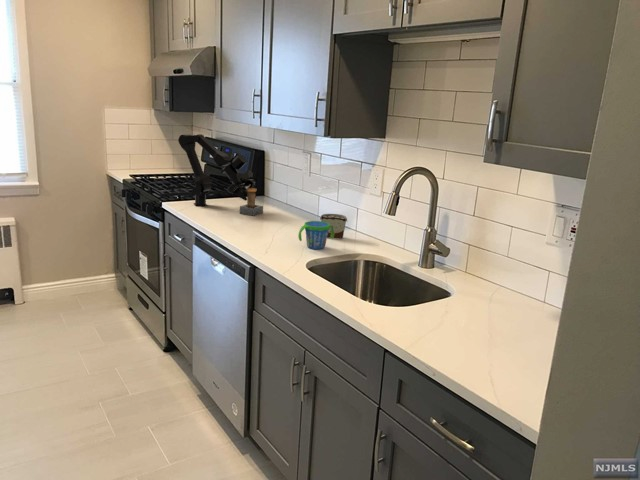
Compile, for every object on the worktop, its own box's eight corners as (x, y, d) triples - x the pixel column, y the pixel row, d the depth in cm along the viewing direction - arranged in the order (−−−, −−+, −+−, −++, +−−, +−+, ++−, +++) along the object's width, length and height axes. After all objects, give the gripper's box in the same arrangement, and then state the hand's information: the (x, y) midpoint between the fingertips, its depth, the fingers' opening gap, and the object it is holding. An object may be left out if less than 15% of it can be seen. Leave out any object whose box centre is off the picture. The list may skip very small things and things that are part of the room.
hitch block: (239, 213, 262) (239, 206, 261) (248, 211, 270) (248, 203, 269) (254, 216, 259) (254, 208, 258) (262, 213, 267) (263, 205, 266)
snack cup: (301, 251, 203) (303, 227, 200) (294, 244, 212) (295, 221, 210) (337, 250, 208) (339, 226, 205) (328, 243, 218) (330, 220, 215)
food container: (346, 236, 232) (348, 214, 229) (346, 239, 226) (347, 217, 223) (320, 233, 233) (321, 212, 230) (318, 237, 227) (320, 215, 224)
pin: (243, 213, 264) (244, 188, 261) (251, 212, 268) (251, 187, 265) (250, 215, 261) (251, 190, 258) (258, 213, 265) (258, 189, 262)
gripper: (233, 166, 252) (251, 191, 251) (252, 164, 268) (270, 187, 267) (219, 180, 257) (237, 205, 256) (239, 176, 273) (256, 199, 272)
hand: (251, 198), depth 263 cm, fingers open, 9 cm apart
